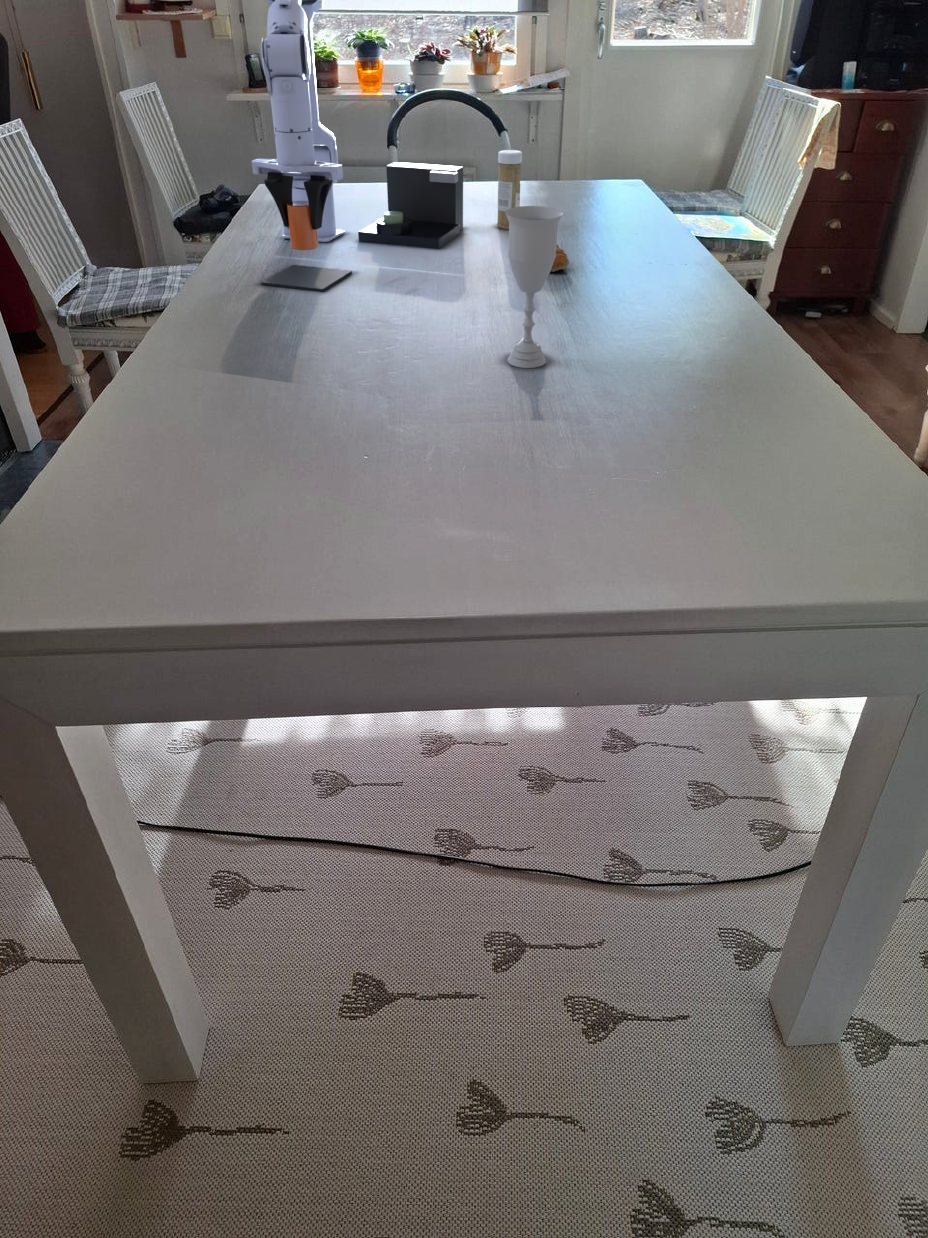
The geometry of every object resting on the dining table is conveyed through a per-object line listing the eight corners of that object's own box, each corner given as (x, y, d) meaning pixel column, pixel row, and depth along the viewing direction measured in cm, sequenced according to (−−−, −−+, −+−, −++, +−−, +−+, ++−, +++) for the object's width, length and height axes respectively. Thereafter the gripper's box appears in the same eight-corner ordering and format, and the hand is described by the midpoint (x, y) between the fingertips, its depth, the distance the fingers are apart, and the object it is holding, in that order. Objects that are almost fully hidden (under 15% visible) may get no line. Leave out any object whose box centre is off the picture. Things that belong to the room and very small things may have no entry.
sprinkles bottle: (523, 227, 172) (527, 151, 164) (505, 230, 170) (507, 153, 162) (510, 223, 175) (513, 148, 167) (491, 225, 173) (493, 150, 165)
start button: (381, 224, 161) (380, 214, 160) (388, 220, 163) (388, 210, 162) (399, 226, 160) (398, 215, 159) (406, 221, 162) (405, 211, 161)
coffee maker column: (385, 229, 170) (382, 167, 164) (397, 222, 175) (395, 161, 169) (454, 236, 167) (454, 172, 160) (465, 228, 172) (465, 166, 165)
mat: (261, 284, 140) (261, 282, 140) (293, 267, 149) (293, 264, 149) (323, 291, 138) (322, 288, 137) (351, 273, 146) (351, 270, 146)
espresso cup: (286, 248, 139) (281, 204, 135) (298, 242, 142) (294, 199, 139) (311, 251, 138) (306, 207, 134) (323, 244, 141) (319, 201, 137)
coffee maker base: (358, 242, 162) (356, 222, 160) (383, 227, 172) (382, 208, 170) (438, 249, 158) (438, 229, 156) (460, 234, 168) (460, 214, 166)
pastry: (578, 270, 148) (580, 246, 146) (545, 276, 145) (547, 252, 143) (546, 257, 154) (547, 235, 152) (514, 263, 152) (515, 240, 149)
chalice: (497, 351, 117) (501, 206, 106) (547, 350, 117) (556, 205, 106) (504, 371, 111) (509, 220, 100) (556, 370, 111) (567, 219, 100)
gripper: (236, 130, 129) (249, 228, 137) (325, 136, 125) (333, 236, 134) (260, 124, 134) (271, 218, 143) (345, 129, 131) (352, 226, 139)
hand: (302, 226), depth 138 cm, fingers closed on espresso cup, 4 cm apart
